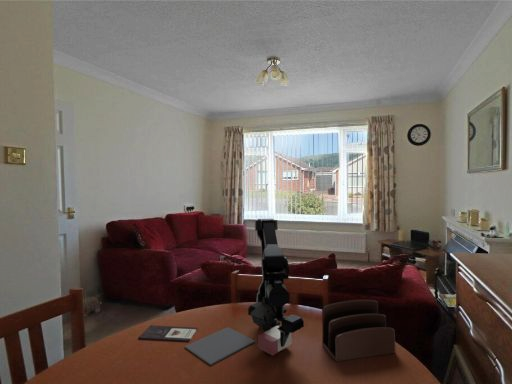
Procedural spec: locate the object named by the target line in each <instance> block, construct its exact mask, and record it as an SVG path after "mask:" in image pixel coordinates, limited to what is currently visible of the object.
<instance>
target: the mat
mask: <svg viewBox="0 0 512 384" xmlns="http://www.w3.org/2000/svg"><path fill="white" fill-rule="evenodd" d="M255 342H256V340H254V339H252V338H251V337H248V336H246V335H244V334H243V333H241V332H239V331H237V330H234V328H233V329H232V328H231V327H228V326H227V327H226V328H223V329H221V330H218V331H216V332H213V333H212V334H209V335H206V336H205V337H202V338H200V339H197V340H196V341H194V342H191V343H189V344H186V345H185V346H184V348H185V349H186V350H188V351H189V352H190V353H192V354H193V355H195V356H196V357H197V358H198V359H200V360H202V361H204V362H205V363H206V364H208V365H209V366H210V367H212V366H213V365H215V364H217V363H219V362H221V361H222V360H224V359H226V358H229V357H230V356H232V355H234V354H236V353H237V352H240V351H241V350H243V349H245V348H247V347H248V346H251V345H253V344H255Z"/></svg>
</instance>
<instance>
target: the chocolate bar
mask: <svg viewBox="0 0 512 384" xmlns="http://www.w3.org/2000/svg"><path fill="white" fill-rule="evenodd" d="M197 331H198V327H191V326H190V327H189V326H168V325H149V326H148V327H147V328H146V329H145V330H144V331H143V332H142V333H141V334H140V335H139V336H138V337H137V339H138V340H145V341H165V342H183V343H185V342H186V343H188V342H191V340H192V338H193V337H194V335H195V333H196V332H197Z"/></svg>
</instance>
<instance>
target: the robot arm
mask: <svg viewBox="0 0 512 384" xmlns="http://www.w3.org/2000/svg"><path fill="white" fill-rule="evenodd" d="M278 225H279V224H278V220H277V219H275V218H257V220H255V221H254V231H256V236H257V238H258V239H259V241H260V247H261V248H260V249H261V255H260V256H261V259H260V260H261V261H260V263H261V264H260V265H261V276H262V277H261V279H262V280H261V283H260V285H259V286H258V292H257V293H256V302H255V303H252V304H250V305H249V307H248V309H247V312H248V315H249V316H251V319H252V322H253V323H254V324H256V325H259V326H260V327H261V329H262V333H263V332H265V331H267V330H269V329H271V328H273V327H275V326H278V325H279V324H281V325H279V328H277V329H278V330H279V331H280V342H281V347H283V346H284V345H285V343H286V341H287V338H288V336H289V334H290V333H291V334H293V333H295V332H297V331H299V330H300V329H302V328H304V324H305V323H304V318H303V317H302V316H299V315H297V314H294V313H293V314H290V315H288V316H286V315H284V314H286V313H287V309H286V308H284V306H285V305H286V304H287V303H288V302H289V300H290V299H289V298H290V294H289V292H288V290H287V287H286V285H285V282H284V281H285V280H289V277H290V275H291V274H290V266H289V261H288V260H287V259H288V258H287V257H286V256H285V255H284V251H283V249H282V248H281V247H279V245H278V238H277V234H276V231H278V230H279V229H278Z"/></svg>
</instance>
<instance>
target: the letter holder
mask: <svg viewBox="0 0 512 384" xmlns="http://www.w3.org/2000/svg"><path fill="white" fill-rule="evenodd" d="M321 315H322V316H321V321H322V326H321V327H322V328H321V329H322V333H321V334H322V340H321V341H322V346H323V348H325V350H326V351H327V352H328V354H329V355H330V356H331V358H332V359H333V360H334V362H343V361H351V360H357V359H363V358H371V357H378V356H384V355H391V354H392V353H393V354H396V330H395V329H394V328H393V327H388V326H387V316H386V314H382V313H379V302H378V301H377V300H375V299H353V300H352V299H351V300H343V301H339V302H338V301H337V302H332V303H330V304H325V305H324V306H323V307H322V310H321Z"/></svg>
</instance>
